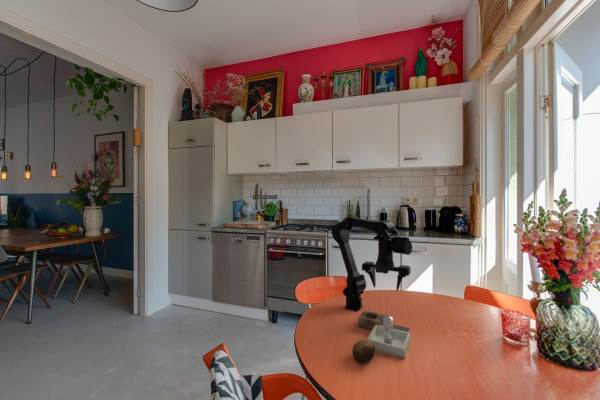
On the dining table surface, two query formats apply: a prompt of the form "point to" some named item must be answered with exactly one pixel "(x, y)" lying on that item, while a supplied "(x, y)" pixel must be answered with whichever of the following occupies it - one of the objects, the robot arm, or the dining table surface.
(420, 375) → the dining table surface
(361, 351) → the brown coconut
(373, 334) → the tray
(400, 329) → the mat
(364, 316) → the brown hollow block
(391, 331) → the pin
